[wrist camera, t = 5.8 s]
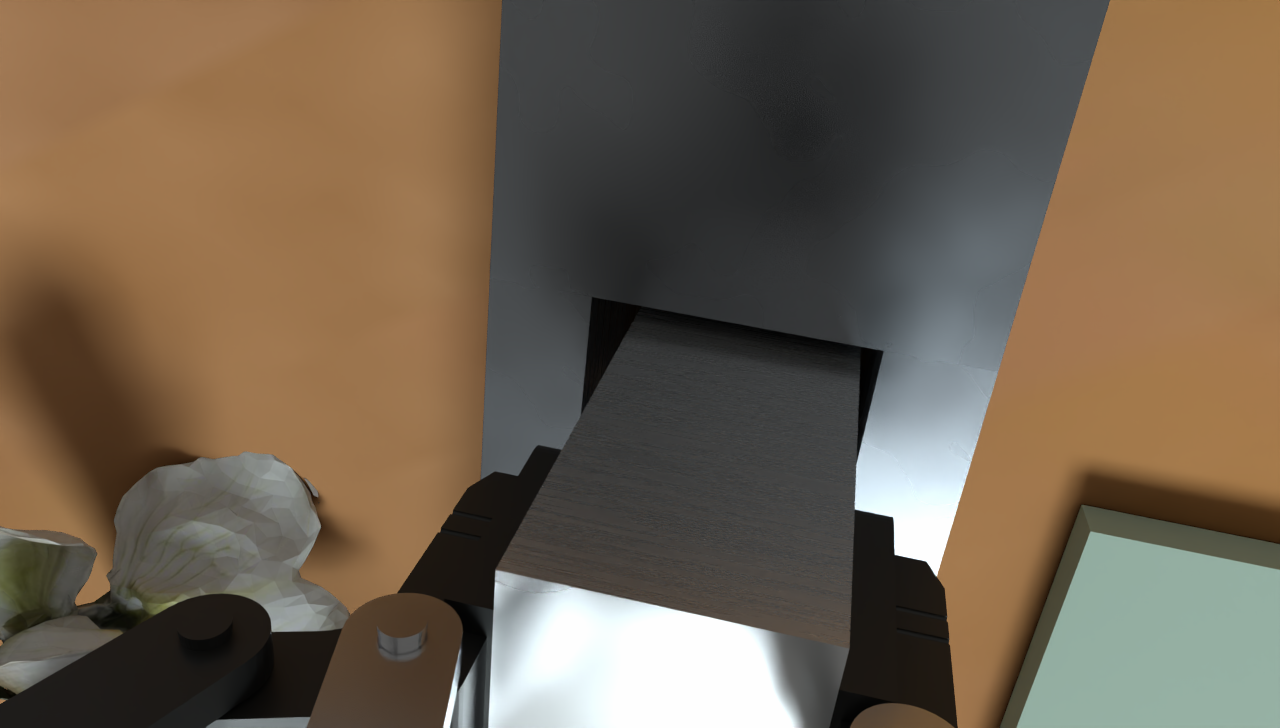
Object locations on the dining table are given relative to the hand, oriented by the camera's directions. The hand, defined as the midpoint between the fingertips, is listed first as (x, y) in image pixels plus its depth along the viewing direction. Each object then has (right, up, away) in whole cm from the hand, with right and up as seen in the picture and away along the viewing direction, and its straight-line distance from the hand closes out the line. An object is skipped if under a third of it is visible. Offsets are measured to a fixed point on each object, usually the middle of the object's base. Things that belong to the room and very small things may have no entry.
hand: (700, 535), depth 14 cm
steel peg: (+1, +3, +6) cm, 6 cm away
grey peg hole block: (+1, 0, +8) cm, 8 cm away
